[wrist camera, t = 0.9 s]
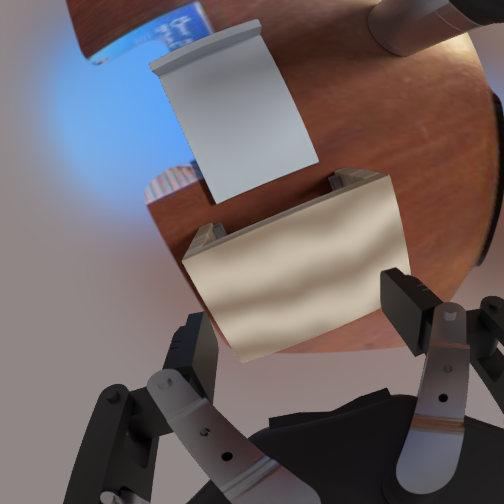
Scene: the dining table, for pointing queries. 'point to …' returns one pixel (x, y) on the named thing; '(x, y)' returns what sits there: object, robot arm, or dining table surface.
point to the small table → (301, 265)
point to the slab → (235, 110)
